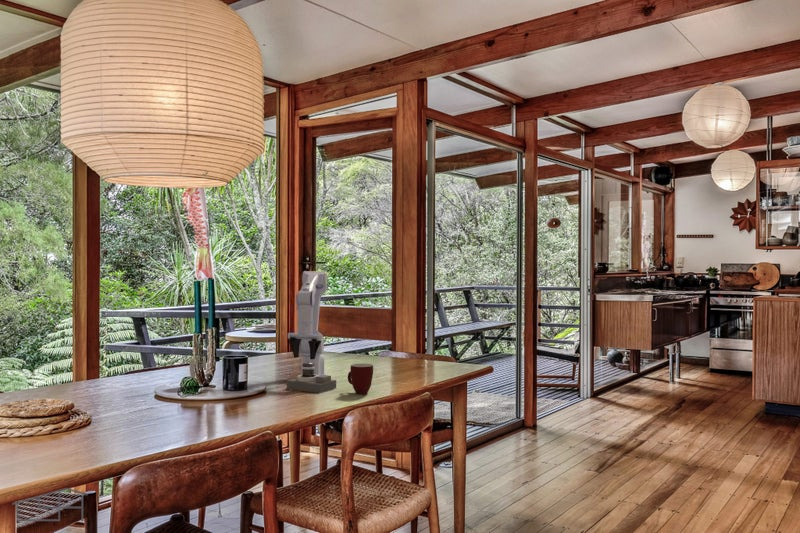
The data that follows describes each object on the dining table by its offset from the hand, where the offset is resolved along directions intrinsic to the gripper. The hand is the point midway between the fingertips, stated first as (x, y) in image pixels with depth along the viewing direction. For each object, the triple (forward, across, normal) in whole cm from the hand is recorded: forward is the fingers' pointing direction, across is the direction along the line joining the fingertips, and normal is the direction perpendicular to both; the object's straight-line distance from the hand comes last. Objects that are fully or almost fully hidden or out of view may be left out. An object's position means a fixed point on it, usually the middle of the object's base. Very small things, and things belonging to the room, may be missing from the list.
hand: (304, 358), depth 238 cm
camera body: (+10, +7, -5) cm, 13 cm away
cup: (+10, -31, -22) cm, 39 cm away
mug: (+10, +26, -3) cm, 28 cm away
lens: (+7, +6, -5) cm, 10 cm away
